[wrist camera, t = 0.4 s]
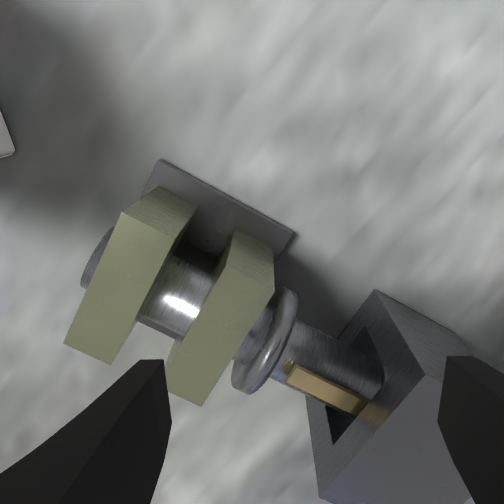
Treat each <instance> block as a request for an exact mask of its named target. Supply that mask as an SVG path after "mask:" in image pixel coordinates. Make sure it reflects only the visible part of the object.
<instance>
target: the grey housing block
mask: <svg viewBox="0 0 504 504" xmlns="http://www.w3.org/2000/svg"><path fill="white" fill-rule="evenodd" d="M337 340H339V341H341V342H343V343H345V344H347V345H349V346H351V347H353V348H355V349H357V350H359V351H361V352H363V353H365V354H367V355H369V356H370V357H372V358H374V359H376V360H378V361H380V362H381V364H382V365H383V368H384V372H385V383H384V385H383V386H382V387H381V388H380V390H379V391H378V392H377V393H376V394H375V396H374V397H373V398H372V399H371V400H370V402H369V403H368V404H367V405H366V406H365V408H364V409H363V410H362V411H361V413H360V414H359V415H358V416H357V417H356V419H354V418H352V417H350V416H348V415H346V414H344V413H342V412H340V411H338V410H336V409H333V408H331V407H329V406H327V405H325V404H323V403H321V402H319V401H317V400H315V399H313V398H311V397H309V396H307V395H305V397H306V404H307V412H308V419H309V426H310V433H311V441H312V448H313V455H314V463H315V470H316V477H317V484H318V492H319V498H322V499H324V500H326V501H328V502H331V503H333V504H463V503H464V502H465V501H466V500H468V499H469V498H470V497H471V495H470V493H469V491H468V489H467V487H466V485H465V483H464V482H463V480H462V478H461V476H460V474H459V472H458V470H457V468H456V467H455V465H454V463H453V461H452V458H451V456H450V453H449V451H448V448H447V446H446V444H445V441H444V438H443V436H442V433H441V430H440V428H439V425H438V422H437V419H438V412H439V405H440V399H441V392H442V385H443V379H444V372H445V365H446V358H447V356H473V355H472V354H471V352H470V351H469V350H468V349H467V348H466V346H465V345H464V344H463V343H462V342H461V340H460V339H459V338H458V337H457V336H456V335H455V333H454V332H452V331H450V330H448V329H447V328H445V327H443V326H441V325H439V324H437V323H435V322H434V321H432V320H430V319H428V318H426V317H424V316H423V315H421V314H419V313H417V312H415V311H413V310H411V309H410V308H408V307H406V306H404V305H402V304H400V303H399V302H397V301H395V300H393V299H391V298H389V297H387V296H386V295H384V294H382V293H380V292H378V291H376V290H375V289H374V290H373V292H372V293H371V295H370V296H369V297H368V299H367V300H366V301H365V303H364V304H363V305H362V307H361V308H360V309H359V311H358V312H357V313H356V315H355V316H354V318H353V319H352V320H351V322H350V323H349V324H348V326H347V327H346V328H345V330H344V331H343V332H342V334H341V335H340V337H339V338H338V339H337ZM473 357H474V356H473Z"/></svg>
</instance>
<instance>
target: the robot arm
mask: <svg viewBox="0 0 504 504" xmlns="http://www.w3.org/2000/svg"><path fill="white" fill-rule="evenodd" d="M437 422H438V425H439V428H440V430H441V433H442V436H443V438H444V441H445V444H446V446H447V448H448V451H449V453H450V456H451V458H452V461H453V463H454V465H455V467H456V468H457V470H458V472H459V474H460V476H461V478H462V480H463V482H464V483H465V485H466V487H467V489H468V491H469V493H470V495H471V496H472V498H473V500H474V502H475V504H504V374H502V373H501V372H499V371H498V370H496V369H494V368H493V367H491V366H489V365H488V364H486V363H484V362H482V361H481V360H479V359H477V358H475V357H473V356H447V358H446V365H445V372H444V379H443V385H442V392H441V399H440V405H439V412H438V419H437ZM171 424H172V420H171V412H170V405H169V397H168V390H167V382H166V375H165V367H164V360H163V359H156V360H140V361H138V362H137V363H136V364H135V365H134V366H132V367H131V368H130V369H129V370H128V371H127V372H126V373H125V374H124V375H123V376H121V377H120V378H119V379H118V380H117V381H116V382H115V383H114V384H113V385H112V386H111V387H109V388H108V389H107V390H106V391H105V392H104V393H103V394H102V395H100V396H99V397H98V398H97V399H96V400H95V401H94V402H92V403H91V404H90V405H89V406H88V407H87V408H86V409H85V410H83V411H82V412H81V413H80V414H79V415H77V416H76V417H75V418H74V419H72V420H71V421H70V422H69V423H67V424H66V425H65V426H64V427H63V428H61V429H60V430H59V431H58V432H56V433H55V434H54V435H53V436H51V437H50V438H49V439H48V440H46V441H45V442H44V443H43V444H41V445H40V446H39V447H37V448H36V449H35V450H33V451H32V452H30V453H29V454H28V455H26V456H25V457H24V458H22V459H21V460H19V461H18V462H16V463H15V464H14V465H12V466H11V467H9V468H8V469H6V470H5V471H3V472H2V473H1V474H0V504H150V502H151V499H152V496H153V493H154V490H155V487H156V484H157V481H158V478H159V475H160V472H161V469H162V466H163V463H164V459H165V454H166V449H167V445H168V440H169V435H170V430H171Z"/></svg>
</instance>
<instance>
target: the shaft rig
mask: <svg viewBox="0 0 504 504" xmlns="http://www.w3.org/2000/svg"><path fill="white" fill-rule="evenodd" d="M291 236H292V230H290V229H288V228H286V227H285V226H283V225H281V224H279V223H277V222H275V221H274V220H272V219H270V218H268V217H266V216H264V215H263V214H261V213H259V212H257V211H255V210H254V209H252V208H250V207H248V206H246V205H244V204H243V203H241V202H239V201H237V200H235V199H233V198H232V197H230V196H228V195H226V194H224V193H222V192H221V191H219V190H217V189H215V188H213V187H212V186H210V185H208V184H206V183H204V182H202V181H201V180H199V179H197V178H195V177H193V176H191V175H190V174H188V173H186V172H184V171H182V170H180V169H179V168H177V167H175V166H173V165H171V164H169V163H168V162H166V161H164V160H162V159H160V160H158V161H157V163H156V165H155V167H154V169H153V172H152V174H151V176H150V178H149V180H148V183H147V185H146V187H145V189H144V191H143V193H142V196H141V198H140V199H139V200H137V201H136V202H135V203H133V204H132V205H130V206H129V207H128V208H126V209H125V210H124V211H122V212H121V214H120V217H119V219H118V221H117V223H116V226H114V227H112V228H111V229H110V230H109V231H108V232H107V233H106V235H105V236H104V237H103V238H102V240H101V241H100V243H99V244H98V246H97V247H96V249H95V251H94V252H93V254H92V256H91V258H90V259H89V261H88V263H87V265H86V268H85V270H84V272H83V275H82V278H81V282H80V286H81V287H83V288H85V289H87V291H86V293H85V295H84V297H83V300H82V302H81V304H80V306H79V309H78V311H77V313H76V315H75V318H74V320H73V322H72V324H71V327H70V329H69V331H68V333H67V336H66V338H65V340H64V342H63V344H66V345H68V346H70V347H72V348H74V349H76V350H79V351H81V352H83V353H85V354H87V355H90V356H92V357H94V358H96V359H98V360H100V361H103V362H105V363H107V364H109V365H111V364H112V362H113V361H114V359H115V357H116V356H117V354H118V352H119V351H120V349H121V347H122V346H123V344H124V343H125V341H126V339H127V338H128V336H129V334H130V333H131V331H132V329H133V328H134V326H135V324H136V323H137V321H139V322H141V323H143V324H145V325H147V326H149V327H151V328H153V329H155V330H157V331H159V332H162V333H164V334H166V335H168V336H170V337H172V338H174V339H175V341H174V344H173V346H172V349H171V352H170V354H169V357H168V359H167V362H166V364H165V375H166V382H167V390H168V392H170V393H172V394H175V395H177V396H179V397H181V398H183V399H185V400H188V401H190V402H192V403H194V404H196V405H198V406H202V405H203V403H204V402H205V400H206V399H207V397H208V395H209V394H210V392H211V391H212V389H213V388H214V386H215V385H216V383H217V381H218V380H219V378H220V377H221V375H222V374H223V372H224V370H225V369H226V367H227V366H228V364H229V363H230V361H231V359H232V360H234V365H233V369H232V376H231V383H232V386H233V388H235V389H237V390H239V391H241V392H243V393H246V394H252V393H254V392H256V391H257V390H258V389H259V388H260V387H261V386H262V385H263V384H264V383H265V382H266V380H267V379H268V377H269V378H271V379H273V380H276V381H278V382H280V383H282V384H284V385H286V386H288V387H290V388H292V389H294V390H296V391H298V392H300V393H302V394H305V395H307V396H309V397H311V398H313V399H315V400H317V401H319V402H321V403H323V404H325V405H327V406H329V407H331V408H333V409H336V410H338V411H340V412H342V413H344V414H346V415H348V416H350V417H352V418H354V419H356V417H357V416H358V415H359V414H360V413H361V411H362V410H363V409H364V408H365V406H366V405H367V404H368V403H369V402H370V400H371V399H372V398H373V397H374V396H375V394H376V393H377V392H378V391H379V390H380V388H381V387H382V386H383V385H384V383H385V372H384V368H383V365H382V364H381V362H380V361H378V360H376V359H374V358H372V357H370V356H369V355H367V354H365V353H363V352H361V351H359V350H357V349H355V348H353V347H351V346H349V345H347V344H345V343H343V342H341V341H339V340H337V339H335V338H333V337H331V336H330V335H328V334H326V333H324V332H322V331H320V330H318V329H316V328H314V327H312V326H310V325H308V324H306V323H304V322H302V321H300V320H298V319H296V315H297V310H298V297H297V294H296V293H295V292H294V291H292V290H290V289H288V288H286V287H284V286H281V285H280V286H278V287H276V288H275V283H274V263H275V262H276V260H277V258H278V257H279V255H280V254H281V252H282V250H283V249H284V247H285V245H286V244H287V242H288V241H289V239H290V237H291Z"/></svg>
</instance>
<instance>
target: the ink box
mask: <svg viewBox="0 0 504 504" xmlns="http://www.w3.org/2000/svg"><path fill="white" fill-rule="evenodd" d="M14 151H15V148H14V145H13V142H12V140H11V137H10V135H9V132H8V129H7V127H6V124H5V121H4V119H3V116H2V113H1V111H0V158H2V157H7V156H11V155H13V153H14Z"/></svg>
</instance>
